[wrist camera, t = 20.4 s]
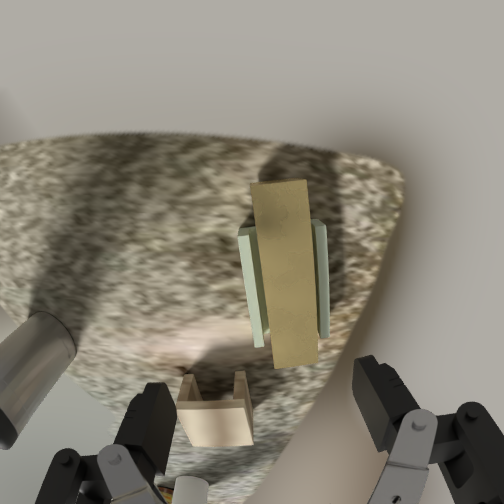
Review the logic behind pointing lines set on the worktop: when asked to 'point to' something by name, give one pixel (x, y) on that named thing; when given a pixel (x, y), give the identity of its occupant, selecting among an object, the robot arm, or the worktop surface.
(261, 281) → the cradle
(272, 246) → the long yellowish block
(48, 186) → the worktop surface
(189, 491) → the cylindrical container
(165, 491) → the sauce bottle
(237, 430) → the beige u-shaped block
